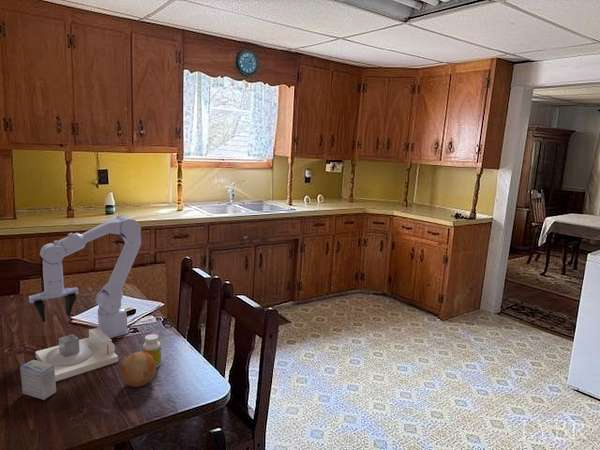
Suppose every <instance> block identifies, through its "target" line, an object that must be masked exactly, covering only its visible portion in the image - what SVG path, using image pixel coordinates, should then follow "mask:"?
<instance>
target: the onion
mask: <svg viewBox="0 0 600 450" xmlns="http://www.w3.org/2000/svg"><path fill="white" fill-rule="evenodd" d="M156 369H157V367H156V364H155V361H154V359H153V357H152V356H151V355H150V354H149V353H147V352H144V351H143V350H142V351H140V350H139V351H136V352H133V353H131V354H129V355H128V356H126V357H125V359H124V360H123V362H122V364H121V366H120V375H121V379H122V381H123V382H124V383H125V384H126V385H127V386H129V387H131V388H139V387H142V386H145V385H147V384H148V383H150V382H151V380H152V379H154V376H155V375H156Z"/></svg>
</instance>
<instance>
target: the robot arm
mask: <svg viewBox="0 0 600 450" xmlns="http://www.w3.org/2000/svg"><path fill="white" fill-rule="evenodd" d="M141 231H142V227H141V225H140V224H139V222H138V221H137V220H136V219H134V218H131V217H128V216H127V215H125V214H120V215H117V216H116V217H115V216H114V217H112V218H109V219H108V220H107V221H104V222H102V223H101V224H98V225H97V226H95V227H92V228H90V229H88V230H87V231H85V232H83V233H79V232H75V233H73V232H70V233H68V234H67V236H66V237H63V238H60V239H59V240H57V239H56V240H53V242H49V243H47V244H44V245H43V246H42V247H41V248H40V252H39V256H40V257H41V259H42V278H43V291H42V292H39V293H35V294H32V295H28V302H29V303H30V304H33V305H34V306H35V309H36V310H37V311H38V314H39V317H40V321H41V322H42V323H45V322H46V316H45V314H46V313H45V306H46V305H45V303H44V301H47V300H50V299H57V298H61V297H62V298H63V297H64V301H65V315H66V316H67V317H71V313H72V309H73V306H74V304H75V302H76V300H77V295H79V294H80V291H79V288H78V287H77V286H75V287H66V288H65V287H64V286H65V285H64V271H63V269H64V268H63V259H64V258H65V257H67V256H69V255H72V254H74V253H76V252H78V251H80V250H83V249H85V246H86V245H87V243H89V242H92V241H94V240H96V239H98V238H101V237H103V236H106V235H109V234H112V235H120V236H121V238H122V240H123V242H124V245H123V248H122V249H121V252H120V254H119V256H118V258H117V261H116V263H115V265H114V268H113V270H112V272H111V275H110V277H109V278H108V281H107V283H106V284H104V285H103V286H102V288H101V290H100V291H99V292H98V293H97V294H96V295H95V299H94V300H95V303H96V305H97V306H98V308H97V324H98V325H97V326H98V327H97V328H99V329H100V330H101V331H102V332H103V333H105V334H106V335H107V336H108V337H109V338H110V339H113V338H115V337H120V336H123V335H126V334H129V331H128V315H127V311H126V309H125V308H124V307H122V299H123V287H124V285H125V282H126V280H127V278H128V276H129V273H130V271H131V269H132V266H133V264H134V262H135V260H136V257H137V255H138V252H139V251H140V248H141V245H142V235H141V234H142V233H141Z"/></svg>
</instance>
